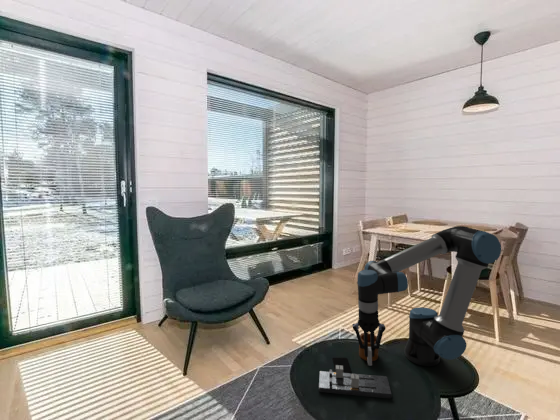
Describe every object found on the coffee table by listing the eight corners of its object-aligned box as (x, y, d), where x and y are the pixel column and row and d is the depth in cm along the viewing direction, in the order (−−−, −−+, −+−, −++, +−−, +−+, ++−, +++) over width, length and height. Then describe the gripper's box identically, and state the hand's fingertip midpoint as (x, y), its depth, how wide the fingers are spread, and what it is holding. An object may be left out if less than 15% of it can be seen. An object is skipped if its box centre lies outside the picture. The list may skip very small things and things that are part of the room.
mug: (372, 345, 154) (372, 329, 152) (381, 361, 142) (381, 343, 140) (354, 346, 153) (355, 329, 152) (361, 361, 141) (362, 343, 140)
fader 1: (342, 374, 130) (342, 365, 129) (343, 378, 127) (343, 369, 127) (335, 373, 130) (335, 364, 130) (335, 377, 128) (335, 368, 127)
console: (386, 380, 128) (387, 372, 128) (391, 398, 119) (391, 389, 118) (319, 375, 133) (319, 366, 132) (319, 391, 123) (318, 382, 123)
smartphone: (337, 380, 129) (331, 357, 144) (337, 381, 130) (331, 359, 144) (354, 379, 129) (347, 357, 144) (354, 381, 129) (347, 358, 144)
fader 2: (358, 383, 124) (358, 374, 123) (358, 388, 122) (358, 378, 121) (350, 383, 124) (350, 373, 124) (351, 387, 122) (351, 378, 122)
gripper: (383, 304, 124) (384, 357, 127) (350, 304, 126) (352, 357, 129) (387, 313, 116) (388, 370, 120) (352, 313, 118) (354, 368, 122)
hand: (369, 363), depth 124 cm, fingers closed
